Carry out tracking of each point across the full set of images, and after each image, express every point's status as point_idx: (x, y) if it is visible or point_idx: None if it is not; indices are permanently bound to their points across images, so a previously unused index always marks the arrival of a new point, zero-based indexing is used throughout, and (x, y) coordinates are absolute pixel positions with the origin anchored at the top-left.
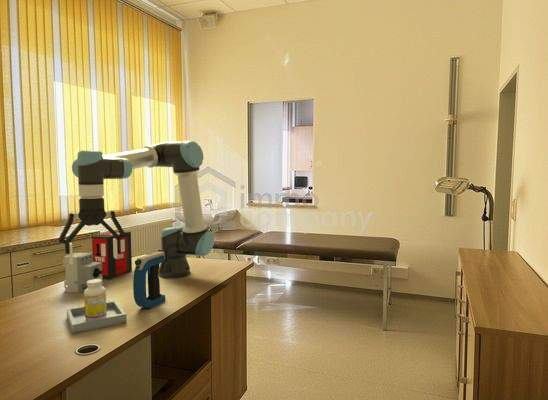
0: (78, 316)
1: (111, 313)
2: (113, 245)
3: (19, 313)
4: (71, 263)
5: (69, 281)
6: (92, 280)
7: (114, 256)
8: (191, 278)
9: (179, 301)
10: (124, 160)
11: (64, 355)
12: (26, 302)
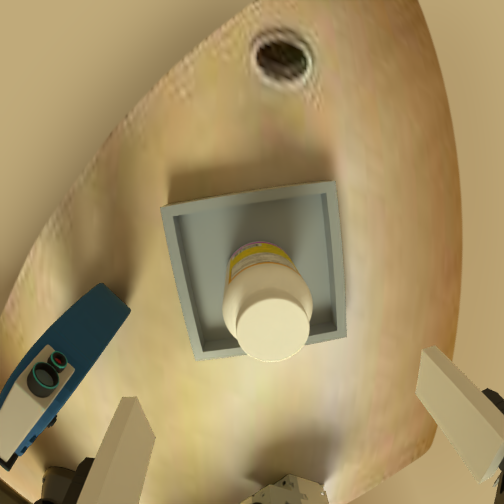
0: None
1: (211, 290)
2: (133, 497)
3: None
4: (432, 348)
5: (318, 501)
6: (282, 343)
7: (143, 423)
8: (34, 447)
9: (29, 313)
10: None
11: (337, 52)
12: (402, 442)
